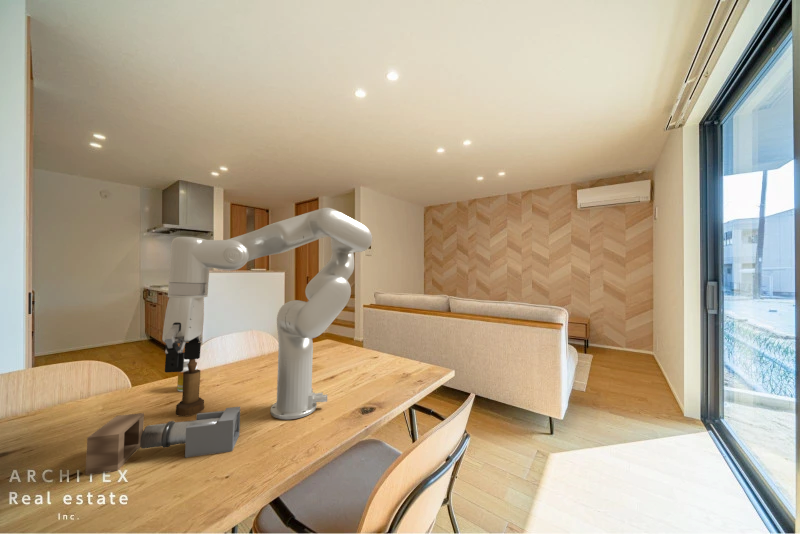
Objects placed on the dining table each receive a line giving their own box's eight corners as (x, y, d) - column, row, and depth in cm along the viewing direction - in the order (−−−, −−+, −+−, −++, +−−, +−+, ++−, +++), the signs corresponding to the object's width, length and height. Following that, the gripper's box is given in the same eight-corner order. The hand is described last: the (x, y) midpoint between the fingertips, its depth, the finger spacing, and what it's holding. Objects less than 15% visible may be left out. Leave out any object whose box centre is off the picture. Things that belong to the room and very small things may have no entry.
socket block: (142, 444, 66) (144, 413, 66) (117, 470, 58) (119, 434, 58) (115, 447, 65) (116, 415, 65) (85, 474, 56) (87, 437, 56)
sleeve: (239, 435, 71) (240, 406, 71) (232, 451, 65) (233, 419, 65) (196, 440, 68) (197, 410, 69) (184, 457, 62) (186, 425, 62)
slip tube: (237, 431, 70) (238, 410, 70) (231, 443, 65) (232, 420, 65) (151, 442, 65) (152, 419, 65) (138, 455, 60) (139, 431, 60)
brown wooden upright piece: (209, 408, 84) (211, 345, 85) (186, 418, 78) (189, 351, 79) (193, 404, 86) (195, 343, 87) (169, 414, 80) (172, 348, 81)
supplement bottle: (189, 392, 95) (190, 362, 95) (172, 391, 95) (174, 361, 95) (200, 385, 100) (201, 357, 100) (185, 385, 100) (186, 357, 100)
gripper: (185, 288, 75) (180, 355, 74) (149, 292, 58) (143, 378, 58) (218, 289, 77) (214, 354, 76) (192, 293, 60) (187, 376, 60)
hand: (183, 364), depth 67 cm, fingers open, 9 cm apart
